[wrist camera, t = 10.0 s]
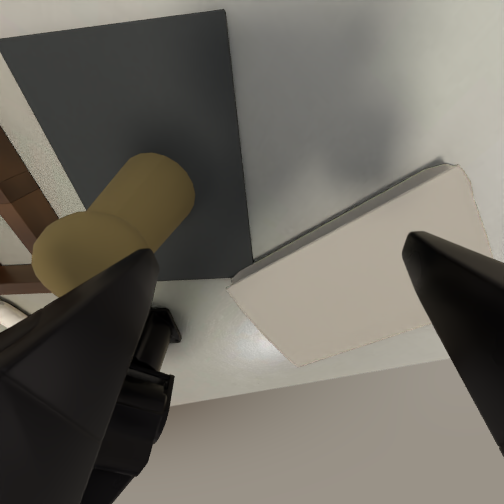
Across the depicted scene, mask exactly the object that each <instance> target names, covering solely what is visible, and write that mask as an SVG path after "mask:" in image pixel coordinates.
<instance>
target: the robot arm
mask: <svg viewBox="0 0 504 504" xmlns="http://www.w3.org/2000/svg"><path fill="white" fill-rule="evenodd" d="M402 259H403V262H404V264H405V267H406V269H407V272H408V274H409V277H410V279H411V282H412V285H413V287H414V290H415V292H416V294H417V296H418V298H419V300H420V302H421V304H422V306H423V308H424V310H425V312H426V313H427V315H428V317H429V319H430V321H431V323H432V325H433V326H434V328H435V330H436V332H437V334H438V336H439V338H440V339H441V341H442V343H443V345H444V347H445V349H446V351H447V352H448V354H449V356H450V358H451V360H452V361H453V363H454V365H455V367H456V369H457V371H458V373H459V375H460V377H461V378H462V380H463V382H464V384H465V386H466V387H467V389H468V391H469V393H470V395H471V397H472V399H473V401H474V402H475V404H476V406H477V408H478V410H479V412H480V414H481V415H482V417H483V419H484V421H485V423H486V425H487V426H488V428H489V430H490V432H491V434H492V436H493V438H494V440H495V441H496V443H497V445H498V446H499V449H500V451H501V453H502V455H503V456H504V263H503V262H500V261H498V260H495V259H493V258H490V257H488V256H485V255H483V254H480V253H478V252H475V251H473V250H470V249H468V248H465V247H463V246H460V245H458V244H455V243H453V242H450V241H448V240H445V239H443V238H440V237H438V236H435V235H433V234H430V233H428V232H425V231H412V232H410V233H408V235H407V237H406V240H405V243H404V246H403V249H402ZM158 274H159V264H158V262H157V260H156V258H155V255H154V253H153V251H152V250H151V249H150V248H143V249H138V250H136V251H135V252H133V253H131V254H130V255H128V256H126V257H125V258H123V259H121V260H120V261H118V262H117V263H115V264H113V265H112V266H110V267H108V268H107V269H105V270H103V271H102V272H100V273H99V274H97V275H95V276H94V277H92V278H90V279H89V280H87V281H85V282H84V283H82V284H81V285H79V286H77V287H76V288H74V289H72V290H71V291H69V292H67V293H66V294H64V295H63V296H61V297H59V298H58V299H56V300H54V301H53V302H51V303H49V304H48V305H46V306H45V307H44V308H42V309H40V310H38V311H36V312H35V313H33V314H31V315H30V316H28V317H26V318H25V319H23V320H21V321H20V322H18V323H16V324H15V325H13V326H11V327H10V328H8V329H6V330H4V331H3V332H1V333H0V504H112V503H113V502H114V501H115V499H116V498H117V497H118V496H119V495H120V493H121V492H122V491H123V490H124V489H125V487H126V486H127V485H128V484H129V483H130V481H131V480H132V479H133V478H134V477H136V476H138V475H139V474H140V472H141V471H142V470H143V468H144V467H145V465H146V464H147V463H148V460H149V456H150V452H151V449H152V445H153V444H155V442H157V440H158V439H159V437H160V435H161V433H162V430H163V428H164V426H165V423H166V420H167V416H168V412H169V407H170V401H171V395H172V389H173V383H174V377H175V376H174V375H171V374H170V375H168V374H165V373H162V372H160V369H161V366H162V363H163V360H164V357H165V354H166V351H167V348H168V345H169V343H179V342H181V336H180V333H179V331H178V329H177V327H176V324H175V322H174V320H173V317H172V315H171V313H170V311H169V310H168V309H166V308H156V309H150V307H151V304H152V300H153V296H154V292H155V287H156V283H157V279H158Z"/></svg>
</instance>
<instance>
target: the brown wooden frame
mask: <svg viewBox="0 0 504 504" xmlns="http://www.w3.org/2000/svg"><path fill="white" fill-rule="evenodd" d="M0 215H1V216H2V217H3V218H4V220H5V221H6V222H7V224H8V225H9V226H10V227H11V229H12V230H13V231H14V233H15V234H16V235H17V236H18V238H19V239H20V240H21V241H22V243H23V244H24V245H25V247H26V248H27V249H28V250H29V252H30V253H31V254H32V253H33V245H34V243H35V242H36V240H37V239H38V237H39V236H40V235H41V233H42V232H43V231H44V229H45V228H46V227H47V226H48V225H50V224H51V223H53V222H54V221H56V220H58V217H57V215H56V214H55V212H54V211H53V209H52V208H51V206H50V204H49V203H48V201H47V200H46V198H45V196H44V195H43V193H42V192H41V190H40V189H39V187H38V185H37V184H36V182H35V181H34V179H33V177H32V176H31V174H30V173H29V171H27V168H26V166H25V165H24V163H23V162H22V160H21V159H20V157H19V155H18V154H17V152H16V151H15V149H14V147H13V146H12V144H11V143H10V141H9V140H8V138H7V136H6V135H5V133H4V132H3V130H2V128H1V127H0ZM34 293H52V292H51V291H50V290H49V289H47V288H46V287H45V286H44V285H43V284H42V283H41V281H40V280H39V279H38V278H37V276H36V275H35V272H34V270H33V267H32V265H31V264H28V265H9V266H2V265H1V264H0V295H10V294H34Z"/></svg>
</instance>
